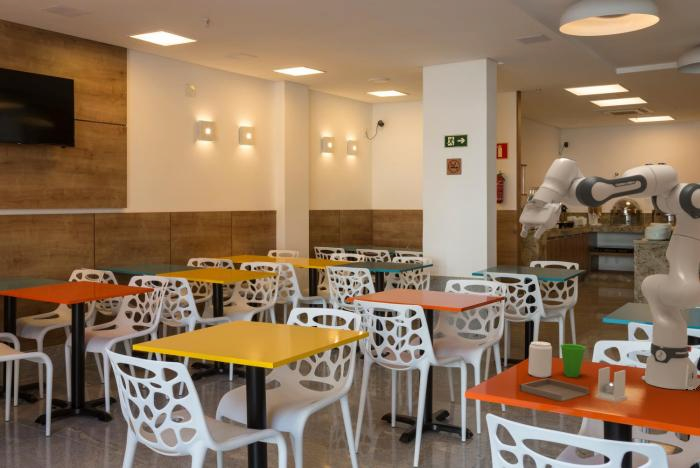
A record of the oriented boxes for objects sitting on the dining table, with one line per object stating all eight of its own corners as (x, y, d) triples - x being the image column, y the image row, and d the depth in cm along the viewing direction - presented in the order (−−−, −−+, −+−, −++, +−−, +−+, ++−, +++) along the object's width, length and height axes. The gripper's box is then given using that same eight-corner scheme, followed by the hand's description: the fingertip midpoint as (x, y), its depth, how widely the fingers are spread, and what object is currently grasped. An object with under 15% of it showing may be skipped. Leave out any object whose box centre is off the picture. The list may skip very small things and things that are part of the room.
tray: (547, 383, 240) (547, 378, 240) (588, 394, 227) (588, 388, 227) (519, 390, 230) (519, 384, 230) (560, 401, 217) (560, 395, 217)
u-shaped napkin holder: (606, 394, 228) (607, 366, 228) (626, 399, 223) (627, 370, 222) (595, 397, 224) (596, 369, 223) (615, 402, 218) (616, 373, 218)
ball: (608, 392, 226) (609, 379, 226) (620, 396, 223) (621, 382, 222) (601, 394, 223) (601, 381, 223) (613, 398, 220) (614, 384, 220)
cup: (587, 375, 254) (588, 346, 254) (581, 380, 246) (582, 349, 246) (562, 371, 259) (564, 342, 258) (556, 376, 251) (557, 346, 251)
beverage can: (552, 378, 247) (553, 346, 246) (529, 377, 249) (530, 344, 248) (550, 373, 255) (551, 341, 254) (527, 372, 256) (528, 340, 256)
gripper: (570, 205, 221) (551, 243, 220) (540, 205, 241) (523, 240, 240) (555, 196, 220) (536, 234, 219) (526, 196, 240) (508, 231, 239)
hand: (529, 237), depth 230 cm, fingers open, 8 cm apart
